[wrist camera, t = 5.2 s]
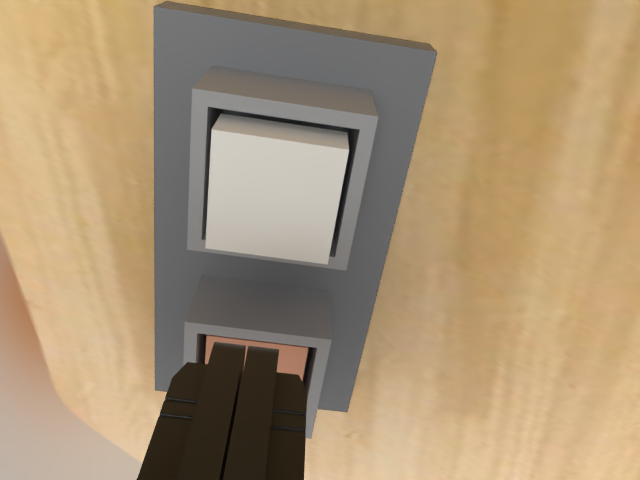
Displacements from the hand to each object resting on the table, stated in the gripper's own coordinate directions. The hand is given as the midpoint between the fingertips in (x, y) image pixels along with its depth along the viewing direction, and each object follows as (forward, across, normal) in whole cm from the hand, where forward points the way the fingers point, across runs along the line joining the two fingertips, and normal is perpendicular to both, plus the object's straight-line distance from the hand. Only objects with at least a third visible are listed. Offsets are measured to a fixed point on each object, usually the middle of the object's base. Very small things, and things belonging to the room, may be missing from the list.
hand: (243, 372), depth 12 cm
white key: (+11, 0, 0) cm, 11 cm away
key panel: (+16, 0, +6) cm, 17 cm away
